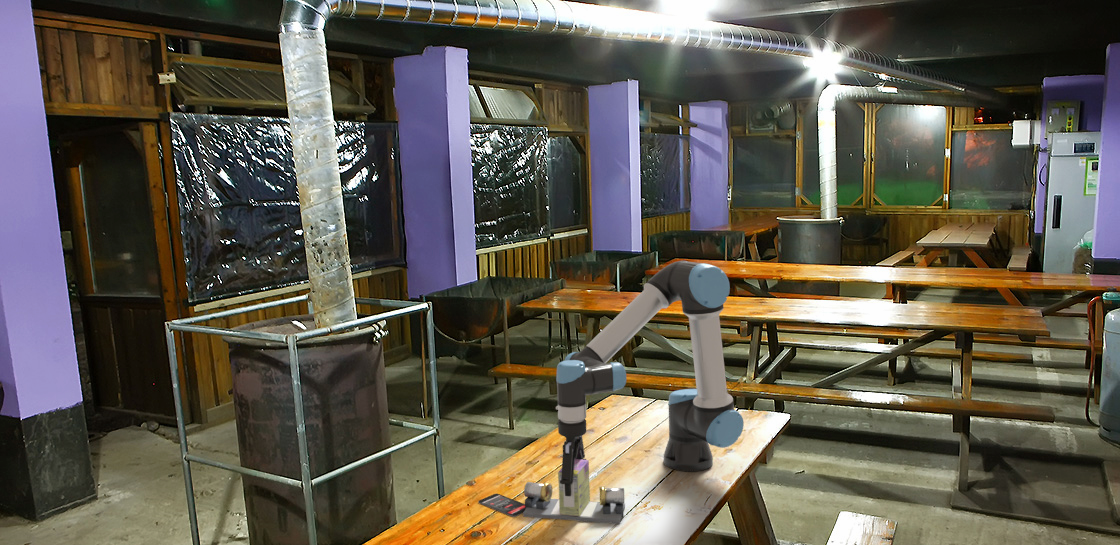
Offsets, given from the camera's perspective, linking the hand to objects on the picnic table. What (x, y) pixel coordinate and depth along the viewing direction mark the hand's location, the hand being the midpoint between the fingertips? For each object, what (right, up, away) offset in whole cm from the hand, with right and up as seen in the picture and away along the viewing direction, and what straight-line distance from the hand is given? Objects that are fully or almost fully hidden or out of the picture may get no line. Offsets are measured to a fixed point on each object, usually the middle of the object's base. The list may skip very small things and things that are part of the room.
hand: (574, 496), depth 205 cm
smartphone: (-19, -5, +6) cm, 21 cm away
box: (0, -3, +1) cm, 4 cm away
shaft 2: (+10, -4, -1) cm, 11 cm away
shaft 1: (-10, -4, +3) cm, 11 cm away
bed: (0, -4, +1) cm, 4 cm away
